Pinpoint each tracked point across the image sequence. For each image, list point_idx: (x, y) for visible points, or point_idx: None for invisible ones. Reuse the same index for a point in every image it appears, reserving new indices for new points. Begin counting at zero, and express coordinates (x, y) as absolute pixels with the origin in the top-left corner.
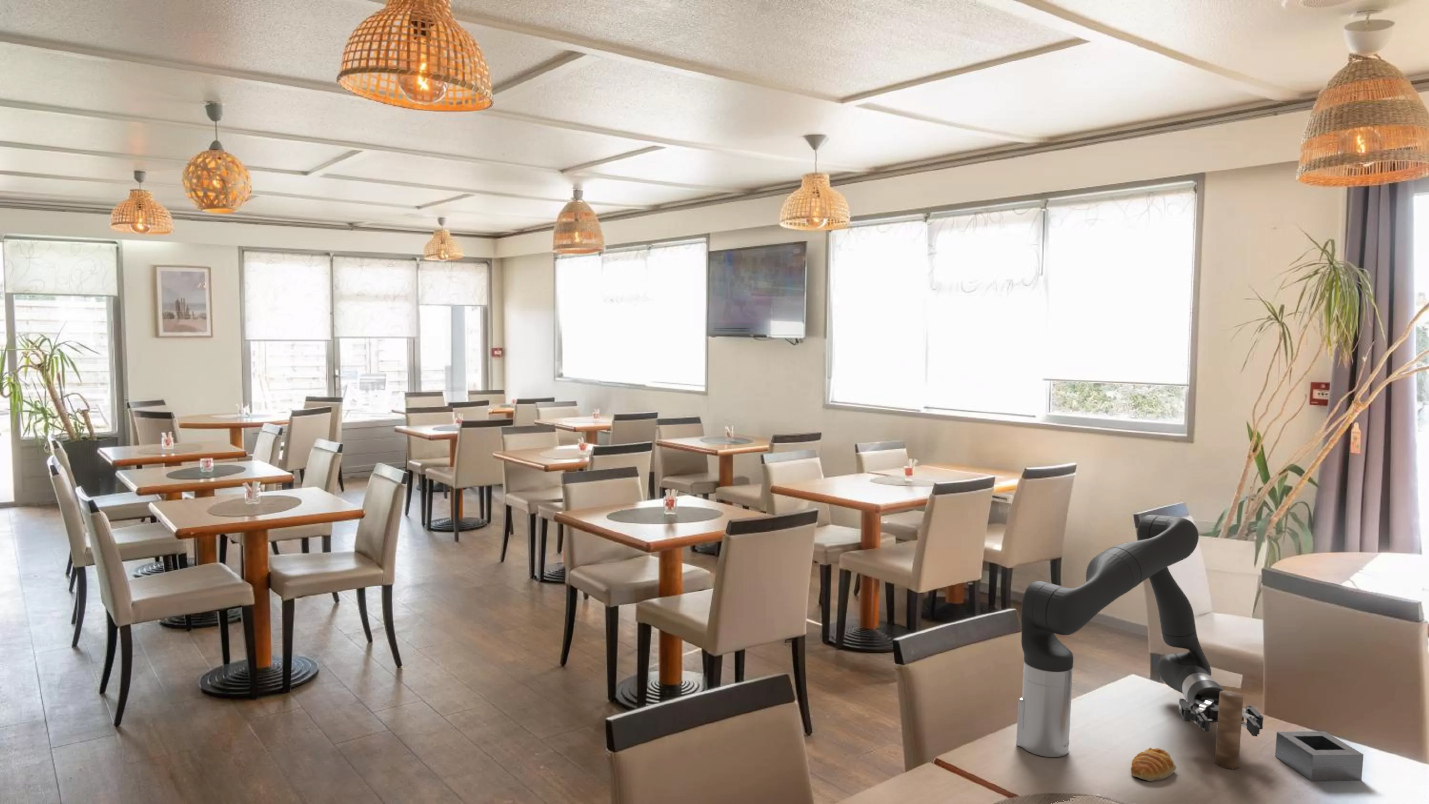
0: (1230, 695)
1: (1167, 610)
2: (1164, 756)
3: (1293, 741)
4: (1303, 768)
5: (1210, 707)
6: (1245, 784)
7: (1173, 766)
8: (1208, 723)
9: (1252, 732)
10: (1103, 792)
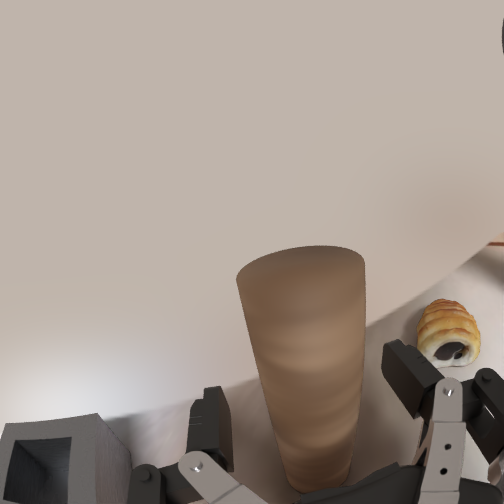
0: (304, 259)
1: None
2: (436, 323)
3: (90, 479)
4: (123, 465)
5: (415, 483)
6: None
7: (417, 341)
8: (385, 347)
9: (228, 412)
10: (449, 276)
